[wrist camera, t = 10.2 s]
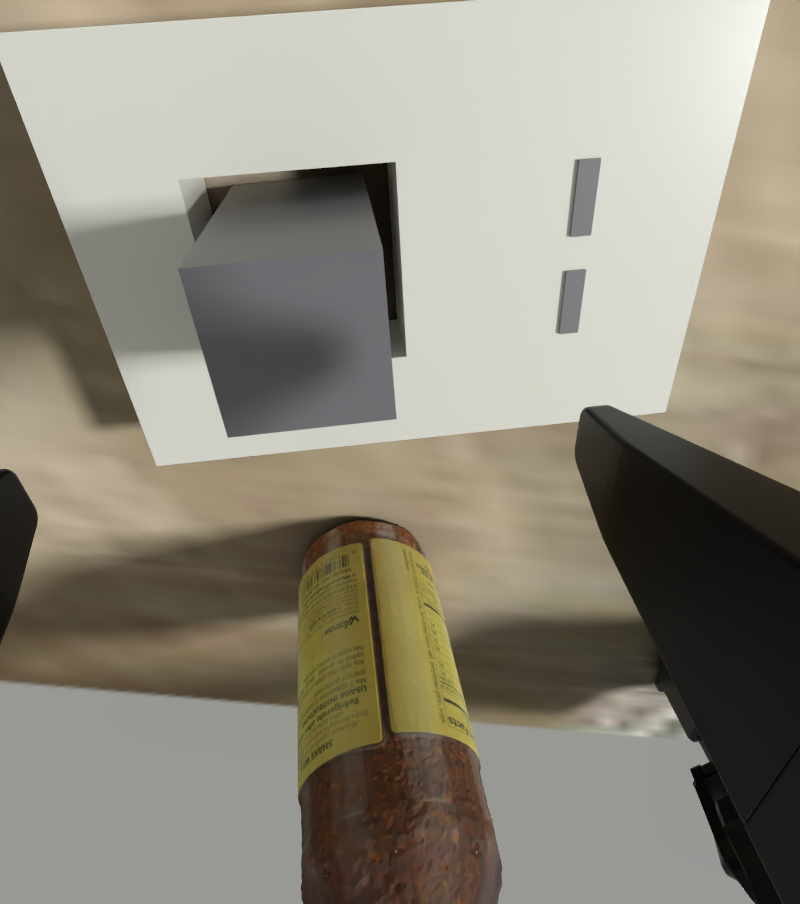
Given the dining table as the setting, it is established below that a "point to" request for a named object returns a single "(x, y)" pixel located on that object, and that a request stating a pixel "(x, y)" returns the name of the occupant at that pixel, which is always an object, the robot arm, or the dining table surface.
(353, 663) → the sauce bottle
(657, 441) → the robot arm
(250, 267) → the plug
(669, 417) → the dining table surface
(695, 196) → the socket plate
